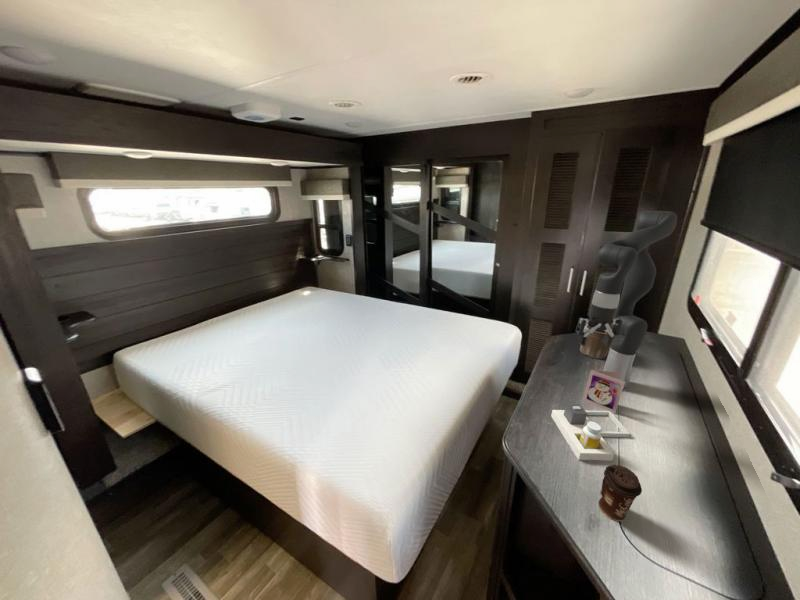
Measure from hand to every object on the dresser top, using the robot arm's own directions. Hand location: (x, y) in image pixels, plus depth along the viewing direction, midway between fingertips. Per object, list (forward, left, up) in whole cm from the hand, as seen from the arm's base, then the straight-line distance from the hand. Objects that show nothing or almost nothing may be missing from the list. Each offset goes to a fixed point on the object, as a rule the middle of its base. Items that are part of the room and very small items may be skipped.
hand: (593, 344), depth 110 cm
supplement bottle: (+6, +19, -30) cm, 36 cm away
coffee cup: (+11, +40, -30) cm, 51 cm away
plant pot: (-32, -44, -30) cm, 62 cm away
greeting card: (-12, -4, -30) cm, 32 cm away
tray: (-6, +8, -30) cm, 31 cm away
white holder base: (+6, +14, -30) cm, 33 cm away
